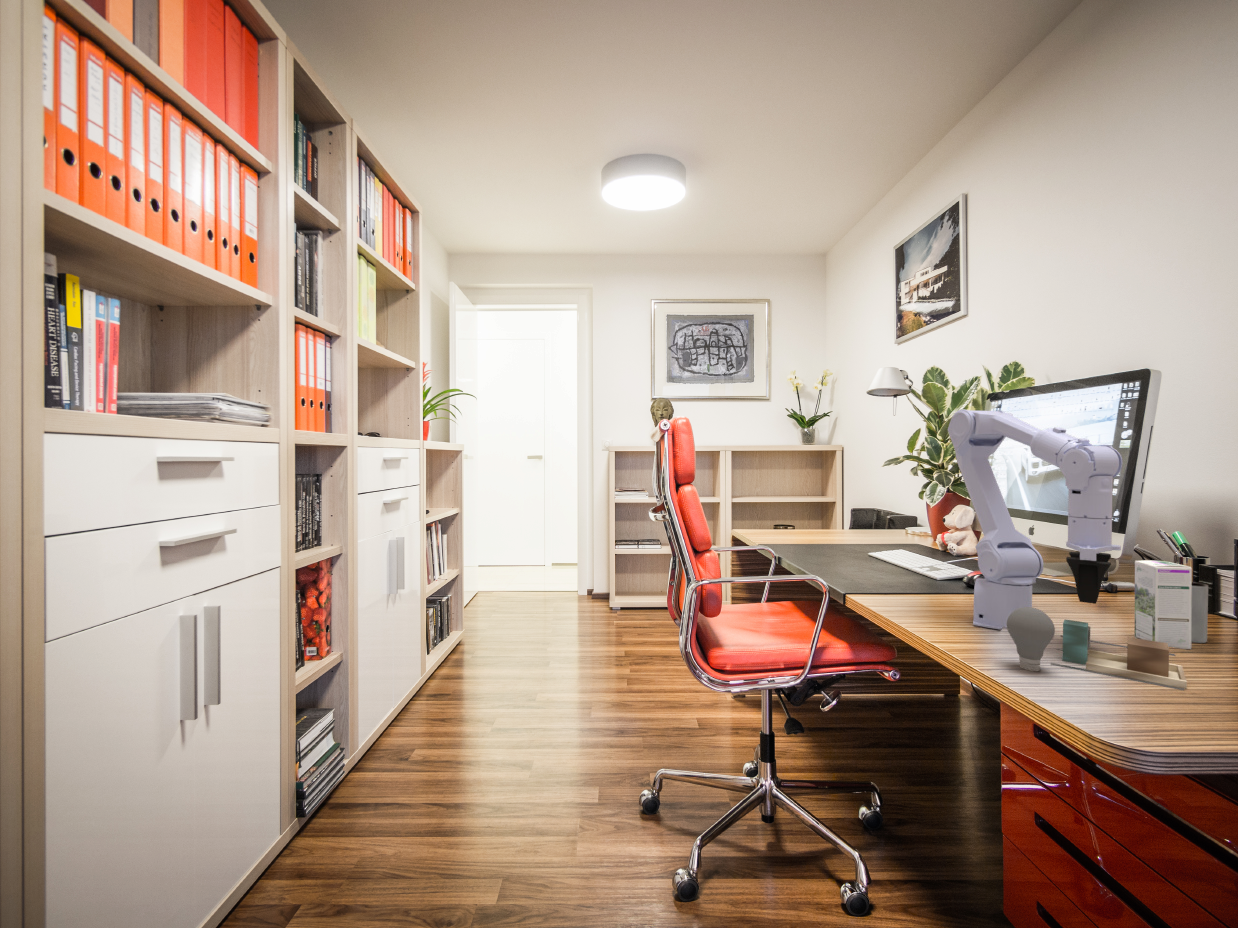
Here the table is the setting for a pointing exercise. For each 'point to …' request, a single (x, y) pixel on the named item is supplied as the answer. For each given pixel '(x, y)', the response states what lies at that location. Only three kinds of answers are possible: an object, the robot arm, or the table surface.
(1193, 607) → the grey cylinder
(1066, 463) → the robot arm
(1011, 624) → the light bulb
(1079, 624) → the cream sliding tray
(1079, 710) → the table surface
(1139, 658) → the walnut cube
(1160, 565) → the syrup box
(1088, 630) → the cream flat panel
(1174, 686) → the lane rails
